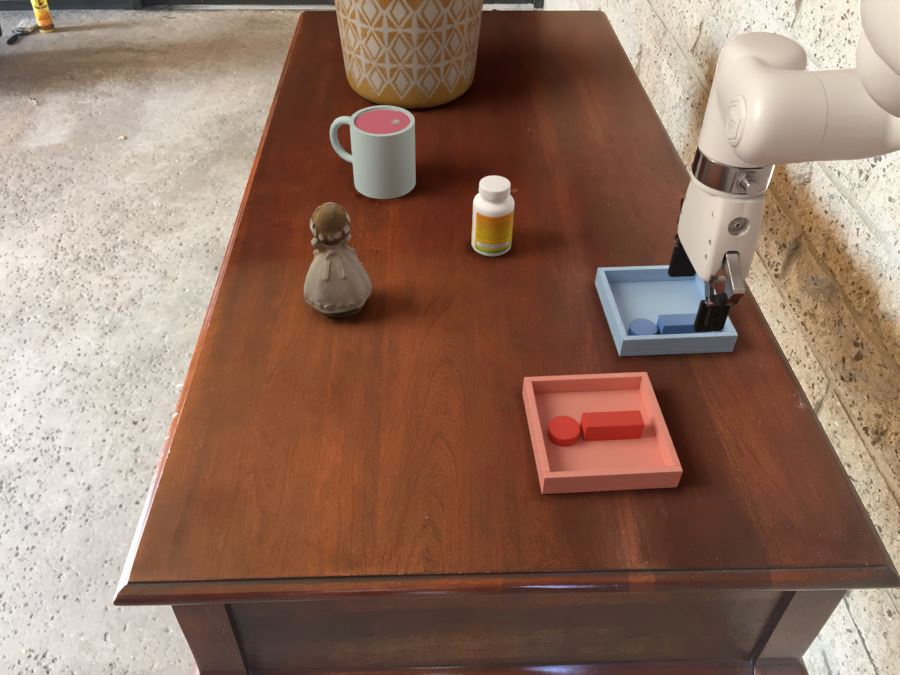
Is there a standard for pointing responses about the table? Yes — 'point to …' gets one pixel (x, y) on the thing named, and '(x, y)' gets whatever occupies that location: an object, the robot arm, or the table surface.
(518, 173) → the table surface
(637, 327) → the blue spoon
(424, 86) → the planter
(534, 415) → the red tray
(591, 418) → the red spoon
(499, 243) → the supplement bottle
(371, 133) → the mug
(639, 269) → the blue tray
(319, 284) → the figurine
